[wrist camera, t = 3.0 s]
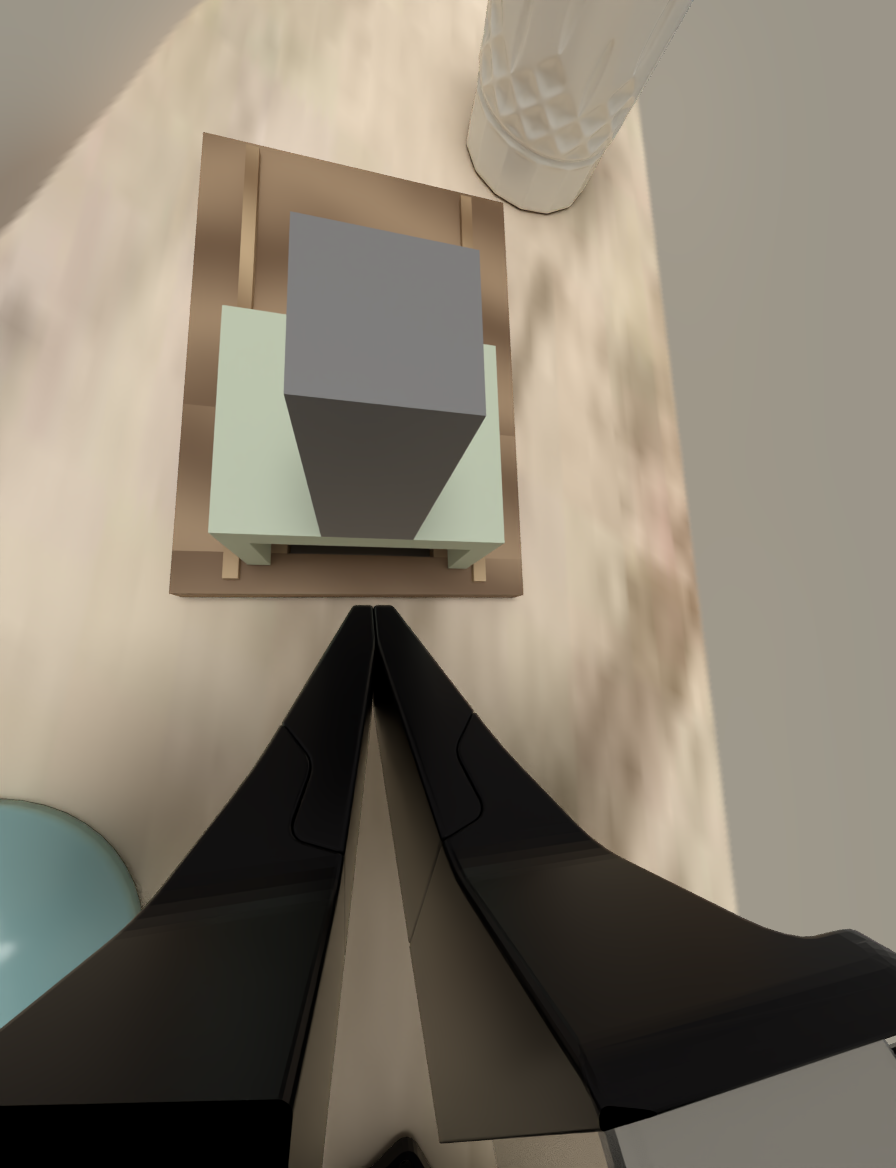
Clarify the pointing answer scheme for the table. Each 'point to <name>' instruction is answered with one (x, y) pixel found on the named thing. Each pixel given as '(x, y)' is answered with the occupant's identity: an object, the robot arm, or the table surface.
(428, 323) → the sliding cover
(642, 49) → the white cup
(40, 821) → the teal saucer
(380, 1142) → the table surface
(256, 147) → the puzzle board
